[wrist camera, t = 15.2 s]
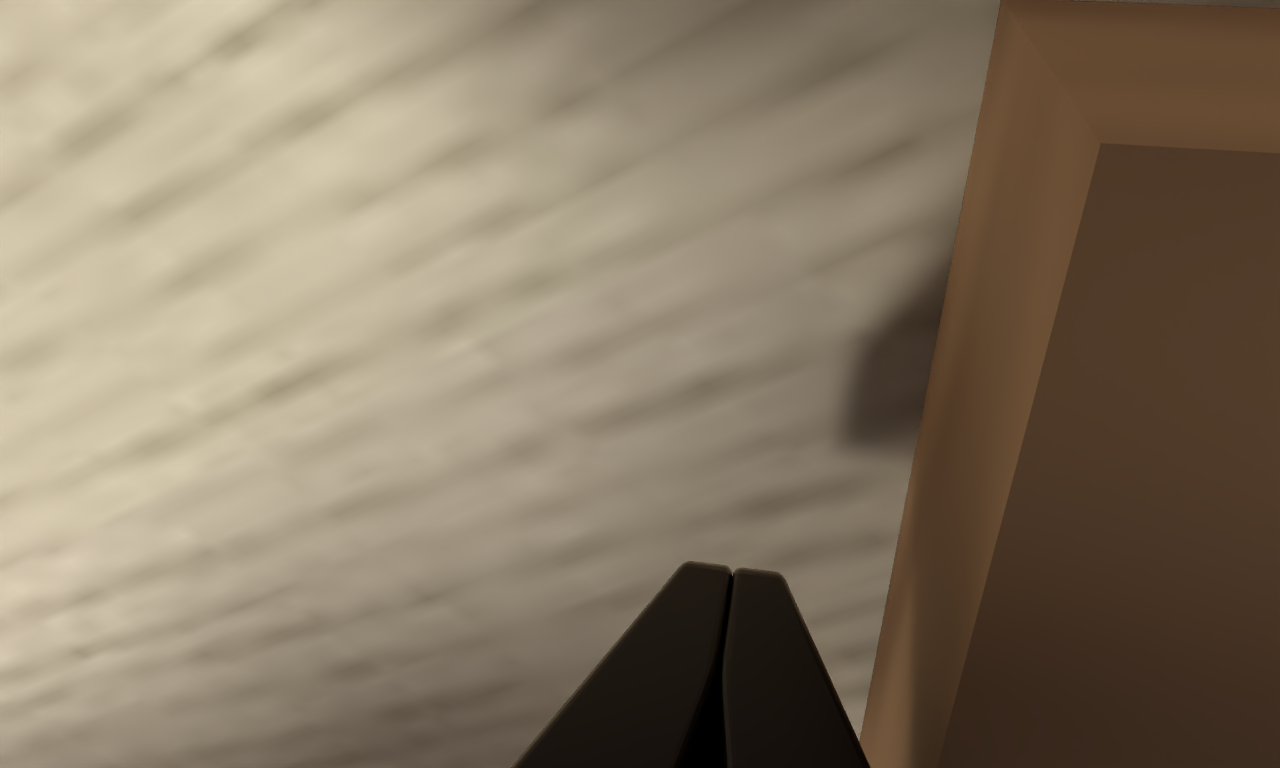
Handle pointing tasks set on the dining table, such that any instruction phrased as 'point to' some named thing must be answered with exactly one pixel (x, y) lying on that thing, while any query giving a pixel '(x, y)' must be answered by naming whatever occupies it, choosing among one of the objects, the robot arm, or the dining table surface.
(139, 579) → the dining table surface
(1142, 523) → the slab
